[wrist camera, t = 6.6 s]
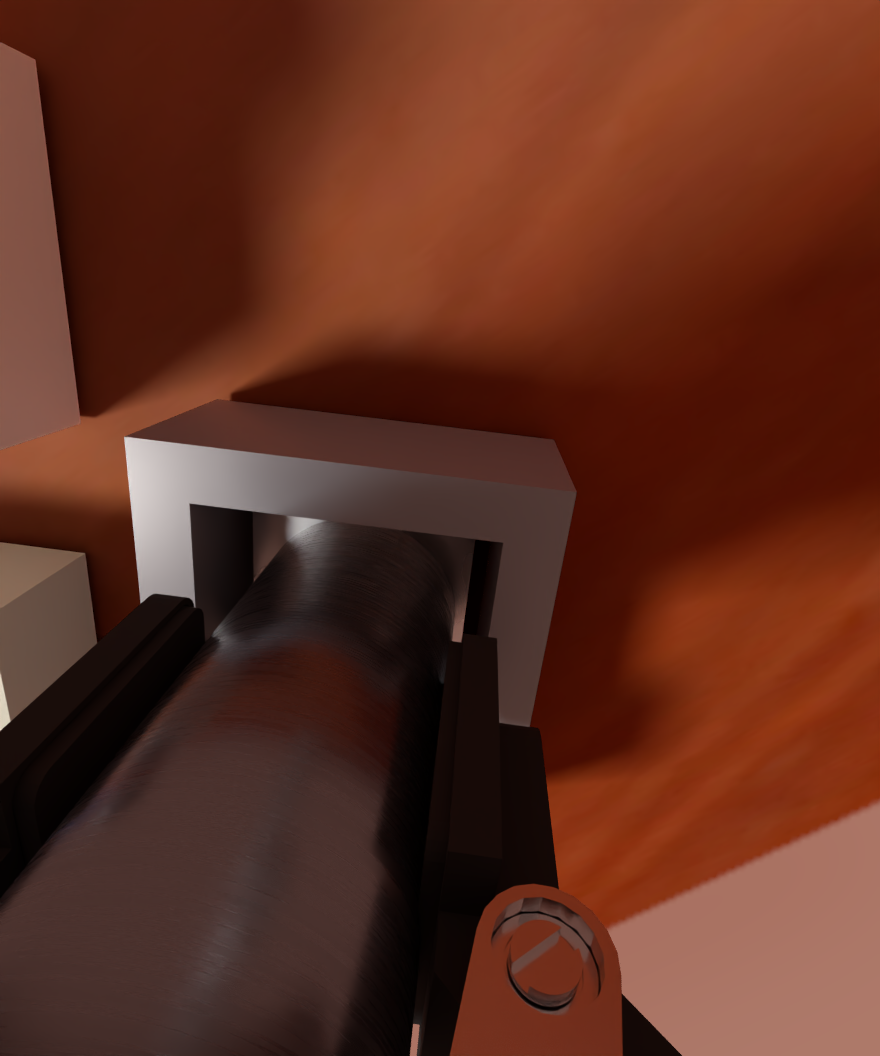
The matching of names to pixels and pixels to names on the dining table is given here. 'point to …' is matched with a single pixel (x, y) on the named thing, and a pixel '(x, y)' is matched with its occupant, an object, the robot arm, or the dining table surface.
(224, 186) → the dining table surface
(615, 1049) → the robot arm
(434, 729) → the cell
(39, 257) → the cup
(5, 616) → the tray
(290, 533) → the pad
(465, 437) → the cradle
